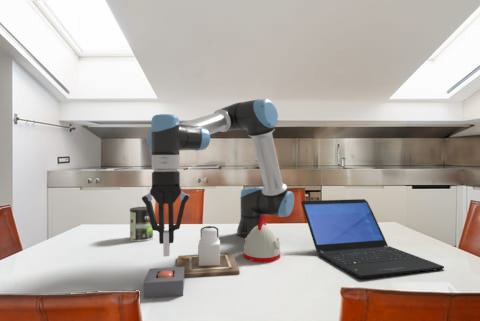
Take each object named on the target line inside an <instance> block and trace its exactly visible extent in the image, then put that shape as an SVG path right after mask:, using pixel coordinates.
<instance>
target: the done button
mask: <svg viewBox="0 0 480 321" xmlns="http://www.w3.org/2000/svg"><path fill="white" fill-rule="evenodd" d="M167 277H173V272H172V271H161V272H159V273H158V278H167Z"/></svg>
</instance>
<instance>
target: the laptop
mask: <svg viewBox="0 0 480 321" xmlns="http://www.w3.org/2000/svg"><path fill="white" fill-rule="evenodd" d="M301 207H302V209H303V211H304V216H305V219H306V222H307V225H308V230H309V231H310V235H311V238H312V241H313V244H314V248H315V250H316V253H318V255H319V256H320V257H322V258H323V259H324V260H326V261H327V262H328V261H329V262H330V263H332V264H334V265H335V266H337V267H339V268H340V269H342V270H344V271H346V272H347V273H349V274H351V275H353V276H355V277H357V278H358V279H359V280H365V278H367V279H373V278H380V277H379V276H381V277H388V276H387V275H390V276H396V275H395V274H399V275H404V274H403V273H407V274H412V273H411V272H416V273H419V272H418V271H425V272H428V271H427V270H433V271H435V270H434V269H441V270H443V269H442V268H444V269H445V266H444V265H441V264H438V263H436V262H433V261H431V260H428V259H425V258H422V257H420V256H417V255H414V254H412V253H408V252H406V251H403V250H400V249H397V248H394V247H392V246H390V245H389V244H388V243H387V241H386V239H385V238H386V237H385V236H384V234H383V232H382V229H381V227H380V225H379V223H378V221H377V219H376V216H375V214H374V212H373V210H372V208H371V206H370V204H369V203H368V200H366V199H364V198H362V199H361V198H360V199H359V198H358V199H331V200H330V199H326V200H324V199H321V200H320V199H317V200H301ZM388 245H389V246H388ZM372 277H373V278H372Z"/></svg>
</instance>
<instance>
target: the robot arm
mask: <svg viewBox="0 0 480 321" xmlns="http://www.w3.org/2000/svg"><path fill="white" fill-rule="evenodd" d="M278 118H279V115H278V111H277V108H276V106H275V104H274V103H273V102H272V101H271V100H269V99H267V98H263V99H259V98H258V99H253V100H248V101H247V100H245V101H242V102H236V103H233V104H231V105H228V106H225V107H221V108H220V109H217V110H215V111H214V112H213V113H211V114H208V115H203V116H200V117H196V118H194V119H189V120H187V121H184V122H183V121H182V122H181V123H180V118H179V116H178V115H175V114H168V113H165V114H164V113H161V114H155V115H153V116H152V118H151V124H150V125H151V127H150V131H149V132H148V134H147V135H146V143H147V147H149V148H150V150H151V169H152V170H153V171H152V172H151V188H150V190H149V193H147V194H146V195H143V196H142V197H141V200H142V201H143V203H144V204H145V207H147V211H148V215H149V219H150V222H151V226H152V230H153V232H155V231H156V232H158V235H159V236H158V238H159V239H158V240H159V244H160V245H161V244H163V250H162V251H163V252H162V253H163V257H169V256H170V254H171V244H173V243H174V239H175V237H174V236H175V231H177V230H180V228H181V223H182V218H183V215H184V212H185V211H184V210H185V207H186V206H185V205H186V203H187V202H188V200H190V199H189V197H190V195H189V194H187V193H185V192H184V191H182V190H183V189H182V188H181V186H180V184H181V182H180V181H181V179H180V178H181V177H180V175H181V174H180V171H178V170H179V169H180V164H181V163H180V151H195V152H196V151H203V150H206V149H207V148H208V147H209V146H210V142H211V135H212V134H213V135H214V134H215V133H218V132H220V133H221V132H222V133H226V132H228V131H241V130H244V131H245V130H246V133H247V136H248V137H250V138H251V139H252V141H253V148H254V151H255V155H256V160H257V163H258V167H259V171H260V176H261V180H262V184H263V186H256V187H254V186H253V187H245V188H242V189H241V191H240V197H239V198H240V219H239V222H238V226H237V229H236V235H237V236H238V237H240V238H244V239H245V238H247V236H248V235H249V233H250V232H251V230H252V229H253V228H254V227H256V226H257V225H258V224H259V220H260V217H261V216H265V215H266V216H274V217H275V216H276V217H279V218H281V217H284V218H287V217H289V216H290V215H291V214H292V212H293V210H294V206H295V194H294V193H293V191H290V190H288V186H287V184H285V183H284V182H283V178H282V174H281V170H280V169H281V168H280V164H279V159H278V154H277V150H276V146H275V141H274V136H273V133H274V131H276V129H275V128H276V126H277V124H278V121H279V120H278ZM179 196H180V197H179ZM178 198H180V205H179V210H178V213H177V218H176V222H175V221H174V219H175V218H174V203H175V202H176V201H177V200H178ZM153 199H154V200H155V202H157V204H158V222H157V217H156V213H155V210H154V207H153V206H154V205H153V202H152V200H153ZM165 204H167V206H168V207H167V208H168V210H167V211H168V215H167V216H168V229H166V230H165ZM174 222H175V224H174ZM265 225H266V226H267V223H266V221H265Z"/></svg>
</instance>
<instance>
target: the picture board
mask: <svg viewBox="0 0 480 321" xmlns="http://www.w3.org/2000/svg"><path fill="white" fill-rule="evenodd" d="M175 267H184V278H197V277H200V278H201V277H215V276H231V275H240V269H239V266H238V263H237V261H236V259H235V257H234V253H233V252H228V253H225V252H224V253H223V252H222V253H220V265H219V266H199V265H198V254H189V255H187V254H185V255H178V256H177V261H176V264H175Z"/></svg>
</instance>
